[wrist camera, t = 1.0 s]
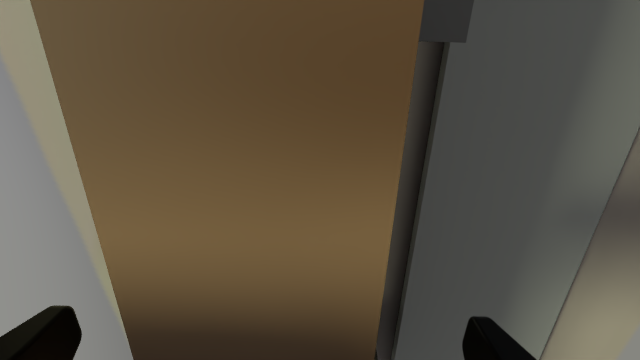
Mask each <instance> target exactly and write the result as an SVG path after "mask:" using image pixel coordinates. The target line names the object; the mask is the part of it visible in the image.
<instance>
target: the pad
mask: <svg viewBox="0 0 640 360" xmlns="http://www.w3.org/2000/svg"><path fill="white" fill-rule="evenodd" d="M639 127H640V0H474V3H473V9H472V14H471V19H470V24H469V29H468V34H467V40H466V43H458V42H445V43H444V49H443V55H442V60H441V66H440V72H439V78H438V84H437V90H436V96H435V102H434V108H433V114H432V120H431V126H430V132H429V137H428V143H427V149H426V155H425V161H424V167H423V173H422V179H421V185H420V191H419V197H418V203H417V208H416V214H415V220H414V226H413V232H412V238H411V244H410V250H409V256H408V262H407V268H406V274H405V279H404V285H403V291H402V297H401V303H400V309H399V315H398V321H397V327H396V333H395V339H394V345H393V350H392V356H391V360H465V359H464V355H463V350H462V341H463V337H464V334H465V330H466V327H467V323H468V320H469V318H470V317H472V316H485V317H489V318H491V319H492V320H493V321H494V322H496V323H497V324H498V325H499V326H500V327H501V328H502V329H503V330H504V331H506V332H507V333H508V334H509V335H510V336H511V337H512V338H513V339H514V340H516V341H517V342H518V343H519V344H520V345H521V346H522V347H523V348H524V349H526V350H527V351H528V352H529V353H530V354H531V355H532V356H533V357H534V358H536V359H537V360H539V359H540V356H541V354H542V352H543V349H544V347H545V345H546V342H547V340H548V338H549V336H550V333H551V331H552V329H553V326H554V324H555V322H556V319H557V317H558V315H559V312H560V310H561V308H562V305H563V303H564V301H565V298H566V296H567V294H568V292H569V289H570V287H571V285H572V282H573V280H574V278H575V275H576V273H577V271H578V268H579V266H580V264H581V261H582V259H583V257H584V254H585V252H586V250H587V248H588V245H589V243H590V241H591V238H592V236H593V234H594V231H595V229H596V227H597V224H598V222H599V220H600V217H601V215H602V213H603V211H604V208H605V206H606V204H607V201H608V199H609V197H610V194H611V192H612V190H613V187H614V185H615V183H616V180H617V178H618V176H619V173H620V171H621V169H622V167H623V164H624V162H625V160H626V157H627V155H628V153H629V150H630V148H631V146H632V143H633V141H634V139H635V136H636V134H637V132H638V129H639Z"/></svg>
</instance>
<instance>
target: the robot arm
mask: <svg viewBox="0 0 640 360" xmlns="http://www.w3.org/2000/svg"><path fill="white" fill-rule="evenodd" d="M81 335H82V333H81V328H80V326H79V323H78V320H77V318H76V314H75V312H74V309H73V308H72V307H70V306H50V307H48V308H47V309H45V310H43V311H42V312H40V313H38V314H37V315H35V316H33V317H32V318H30V319H29V320H27V321H26V322H24V323H22V324H21V325H19V326H17V327H16V328H14V329H12V330H11V331H9V332H8V333H6V334H4V335H3V336H1V337H0V360H73V358H74V356H75V353H76V351H77V349H78V346H79V344H80V341H81ZM462 350H463V355H464V359H465V360H537V359H536V358H534V357H533V356H532V355H531V354H530V353H529V352H528V351H527V350H526V349H524V348H523V347H522V346H521V345H520V344H519V343H518V342H517V341H516V340H514V339H513V338H512V337H511V336H510V335H509V334H508V333H507V332H506V331H504V330H503V329H502V328H501V327H500V326H499V325H498V324H497V323H496V322H494V321H493V320H492V319H491V318H489V317H485V316H472V317H470V318H469V320H468V323H467V327H466V330H465V334H464V337H463V341H462Z"/></svg>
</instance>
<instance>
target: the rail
mask: <svg viewBox="0 0 640 360" xmlns="http://www.w3.org/2000/svg"><path fill="white" fill-rule="evenodd" d="M30 1H31V5H32V8H33V12H34V15H35V19H36V22H37V26H38V29H39V33H40V36H41V39H42V43H43V46H44V50H45V53H46V57H47V60H48V64H49V67H50V71H51V74H52V78H53V81H54V85H55V88H56V92H57V95H58V99H59V102H60V105H61V109H62V112H63V116H64V119H65V123H66V126H67V130H68V133H69V137H70V140H71V144H72V147H73V151H74V154H75V158H76V161H77V165H78V168H79V171H80V175H81V178H82V182H83V185H84V189H85V192H86V196H87V199H88V203H89V206H90V210H91V213H92V217H93V220H94V224H95V227H96V231H97V234H98V238H99V241H100V244H101V248H102V251H103V255H104V258H105V262H106V265H107V269H108V272H109V276H110V279H111V283H112V286H113V290H114V293H115V297H116V300H117V304H118V307H119V310H120V314H121V317H122V321H123V324H124V328H125V331H126V335H127V338H128V342H129V345H130V349H131V352H132V356H133V359H134V360H374V357H375V350H376V343H377V336H378V329H379V321H380V314H381V307H382V300H383V293H384V285H385V278H386V271H387V264H388V257H389V250H390V242H391V235H392V228H393V221H394V214H395V206H396V199H397V192H398V185H399V178H400V171H401V163H402V156H403V149H404V142H405V135H406V127H407V120H408V113H409V106H410V99H411V92H412V84H413V77H414V70H415V63H416V56H417V48H418V41H419V34H420V27H421V20H422V13H423V5H424V0H30Z"/></svg>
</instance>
